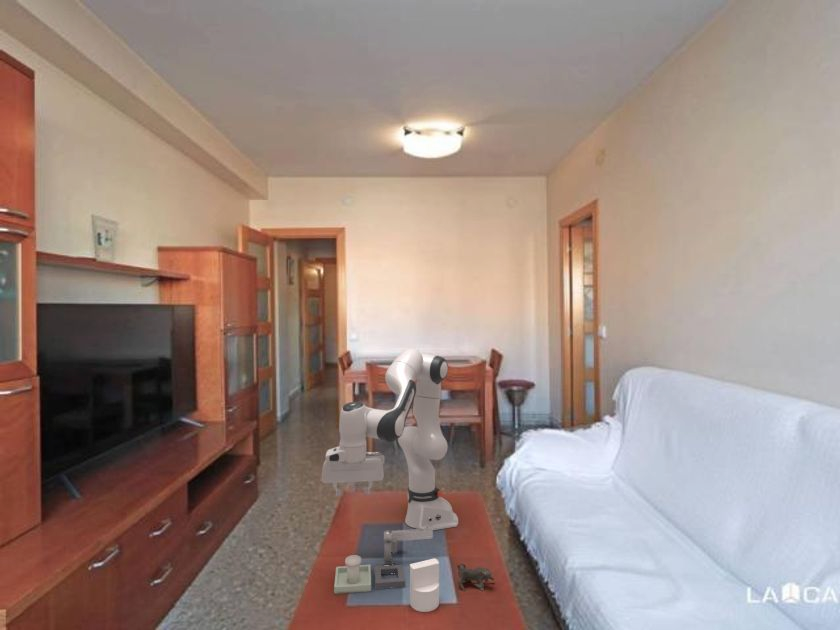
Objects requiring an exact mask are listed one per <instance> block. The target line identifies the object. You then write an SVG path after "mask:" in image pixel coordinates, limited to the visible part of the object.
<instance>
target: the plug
mask: <svg viewBox="0 0 840 630" xmlns="http://www.w3.org/2000/svg"><path fill="white" fill-rule="evenodd" d="M344 561H345V562H344V564H345V566H347V582H348V583H349V584H356V583H358V582H359V565H362V557H361V555H360V556H359V555H356V554H353V555H348V556H346V558H345V559H344Z"/></svg>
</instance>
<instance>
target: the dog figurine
mask: <svg viewBox="0 0 840 630" xmlns="http://www.w3.org/2000/svg"><path fill="white" fill-rule="evenodd" d="M492 574H493V571H492V570H489V568H486V567H475V568H468V567H467V566H466V564H465V563H458V564H457V577H458V580H457V583H458V584H459V586H460V588H461V589H462V591H463V592H466V587H464V585H463V582H467V583H472V582H473V581H474V583H473V585H474V586H475V588H477V589H480V591H485V589H484V587H485V584H484V582H485V583H488V582H489V580H491V581H494V580H495V578H494V577H493V576H492Z"/></svg>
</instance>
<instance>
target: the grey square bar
mask: <svg viewBox="0 0 840 630" xmlns="http://www.w3.org/2000/svg"><path fill="white" fill-rule="evenodd" d="M433 536H434V530H433V529H432V528H426V529H416V528H412V529H401V530H400V529H398V530H397V529H396V530H391V529H389V530H384V531H383V542H384V543H385V542H386V543H389V542H391V541H400V542H402V541H403V542H404V541H417V540H418V541H419V540H429V539H430V540H431V539H433V538H434V537H433Z"/></svg>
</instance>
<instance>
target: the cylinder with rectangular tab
mask: <svg viewBox="0 0 840 630" xmlns="http://www.w3.org/2000/svg"><path fill="white" fill-rule="evenodd" d="M409 604H410V606H411V609H413V610H415V611H417V612H422V613H429V612H432V611H434V610H436V609H437V608H438V607H439V606H440V562H439V559H436V558H435V557H434V558H431V559H430V558H429V559H426V560H422V561H418V562H414V563H410V564H409Z"/></svg>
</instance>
